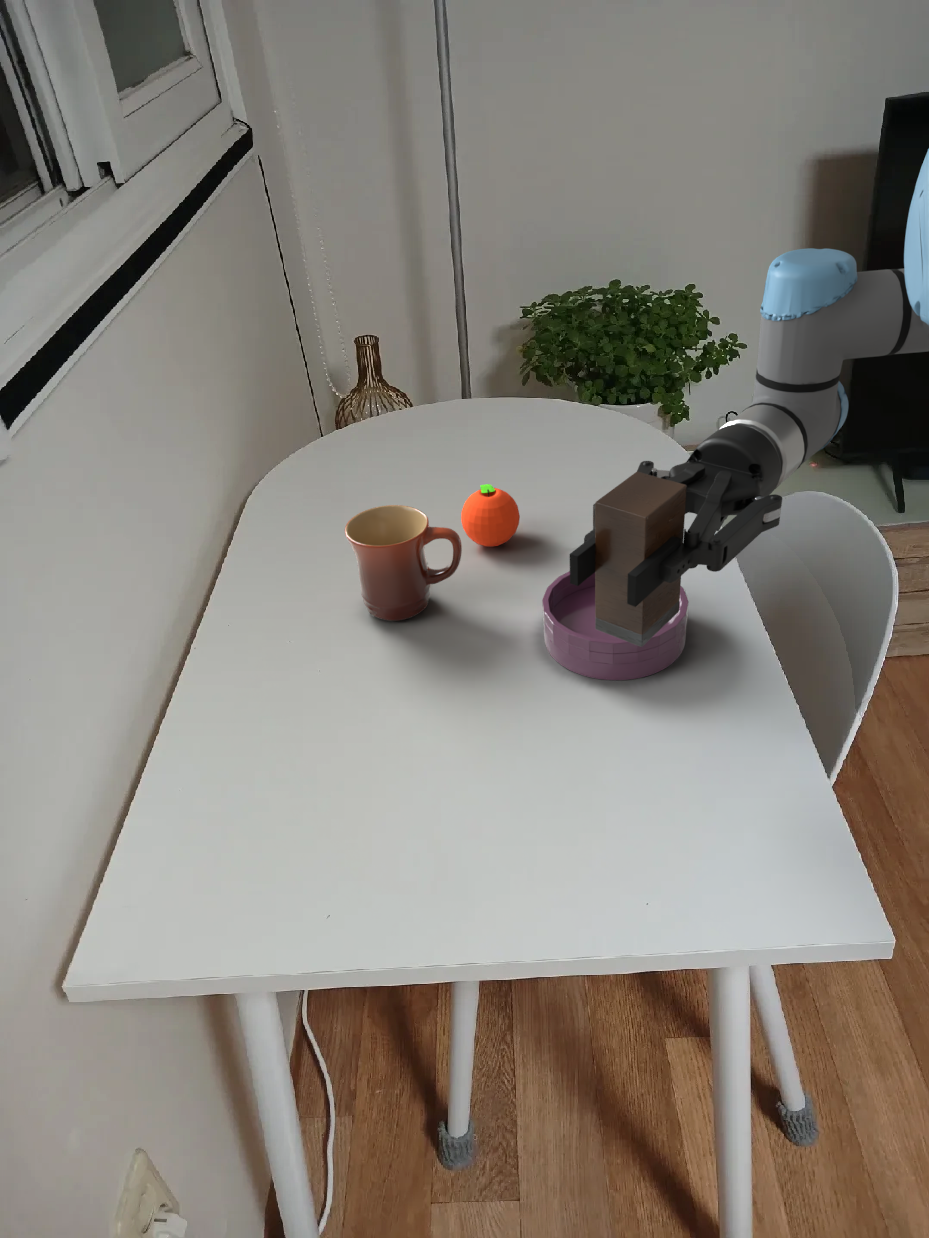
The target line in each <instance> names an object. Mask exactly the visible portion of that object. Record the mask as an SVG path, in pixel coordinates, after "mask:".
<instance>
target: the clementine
mask: <svg viewBox="0 0 929 1238" xmlns="http://www.w3.org/2000/svg"><path fill="white" fill-rule="evenodd" d="M479 487H480V489H478V490H476V491H474V492H473V493H472V494H470V495H469V496H468V498H467V499H466V500H465V501H464V504H463V506H462V509H461V512H460V513H461V515H460V518H461V519H460V520H461V521H460V522H461V525H462V529H463V531H464V533H465V534H466V535H467V537H468V538H469V539H470V540H471V541H472V542H474V543H476V544H478V545H481V546H483V547H492V548H493V547H499V546H500V545H504V543H505V544H506V543H507V542H508V541H509V540H510V539H512V537H513V536H514V535H515V534H516V532H517V530H518V528H519V525H520V518H521V516H520V515H521V514H520V509H519V505H518V504H517V502H516V500H515V499H514V498H513V496H511V494H509V493H508V492H507V491H505V490H503V489H501V488H497V487H494V486H493V485H492V484H490V483H486V484H480V485H479Z"/></svg>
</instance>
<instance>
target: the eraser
mask: <svg viewBox="0 0 929 1238" xmlns="http://www.w3.org/2000/svg"><path fill="white" fill-rule="evenodd" d="M686 487H687V486H686V485H685V484H681V483H677V482H673V481H670V480H666V479H662V478H659V477H655V476H651V475H648V474H644V473H640V472H637V471H636V472H634V473H633V474H631V475H630V476H628V478H626V479H625V480H623V481H622V482H621V483H619V484H618V485H616V486H615V487H614V488H613V489H611V490H610V491H608V492H607V493H606V494H604V495H603V496H602V497H600V498H599V499H597V500H596V501H595V502H594V504H595V617H596V618H595V629H596V630H599V631H602V632H604V633H607V634H609V635H612V636H614V637H617V638H620V639H622V640H625V641H627V642H630V643H632V644H635V645H638V646H640V647H642V646H643V645H644V644H645V643H646V642H648V641H649V640H650V639H651V638H652V637H653V636H654V635H655V634H656V633H657V632H658V631H659V630H660V629H661V628H662V627H663V626H664V625H665V624H666V623H668V622H669V621H670V620H671V619H672V618H673V617H674V616H675V615H676V614H677V613H678V612H679V602H680V601H679V600H680V586H682V584H681V583H682V576H680V577H679V578H678V579H677V580H676V581H674V582H672V583H668V582H665V581H664V582H663V583H662V584H661V585H660V586H658V587H657V588H656V589H655V590H654V591H653V592H652V593H651V594H649V595H648V596H647V597H646V598H645V599H644V600H643V601H642V602H641V603H639V604H638V605H637V606H636V607H634V606H632V605H629V604H627V584H628V573H629V572H631V571H632V570H633V569H634V568H635V567H636V566H638V565H639V564H640V563H641V562H642V561H643V560H645V559H646V558H647V557H649V556H650V555H651V554H652V553H653V552H654V551H656V550H657V549H658V548H659V547H660V546H662V545H663V544H664V543H665V542H666V541H667V540H669V539H670V538H671V537H672V536H674V537H678V538H681V544H683V542H684V529H685V518H686V517H685V516H686V514H685V504H686Z"/></svg>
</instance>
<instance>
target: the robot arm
mask: <svg viewBox="0 0 929 1238" xmlns="http://www.w3.org/2000/svg"><path fill="white" fill-rule="evenodd" d="M906 221H907V222H906V228H905V237H904V248H903V267H904V268H891V269H887V268H885V269H878V270H877V269H875V270H865V271H858V270H857V269H858V268H857V261H856V259H855V257H854V256H853V255H852V254H850V253H848V252H846V251H844V250H840V249H834V248H813V247H812V248H810V247H809V248H799V249H793V250H790V251H786V252H784V253H782V254H780V255H779V256H777V257H775V258H774V259H773V260H772V262H771V263H770V264H769V267H768V270H767V274H766V279H765V283H764V290H763V296H762V303H761V306H760V309H759V310H760V323H759V325H760V326H759V335H758V350H757V363H756V371H755V377H754V384H753V385H754V386H753V397H752V401H751V404H750V405H749V406H747V407H746V408H745V409H744V410H742V411H741V412H740V413H738V414H737V415H736V416H735V417H733V418H732V419H730V420H729V421H728V422H726V423H724V425H722V426H721V427H719V428H718V429H717V430H716V431H715V432H713V433H712V434H711V435H710V436H708V437H707V438H705V439H704V440H703V441H701V442H700V443H699V444H698V445H697V446H696V447H695V448H694V450H693V451H692V453H691V454H690V455H689V457H688V459H686V461H685V462H682V463H680V464H675V465H674V466H672V467H671V468H670V469H669V470H664V469H657V468H655V462H653V461H651V460H643V461H641V462H640V463H639V465H638V468H637V470H636V472H640V473H644V474H648V475H651V476H655V477H659V478H662V479H666V480H670V481H673V482H677V483H681V484H685V485H686V486H687V487H686V504H685V515H686V514H688V513H690V514H695V515H696V516H695V517H694V519H693V521H692V523H691V524H690V526H689V528H688V529H687V528H684V536H683V544H681V538H678V537H674V536H672V537H671V538H670V539H669V540H667V541H666V542H665V543H664V544H663V545H662V546H660V547H659V548H658V549H657V550H656V551H654V552H653V553H652V554H651V555H650V556H649V557H647V558H646V559H645V560H643V561H642V562H641V563H640V564H639V565H638V566H636V567H635V568H634V569H633V570H632V571H631V572H629V573H628V584H627V604H629V605H632V606H634V607H636V606H637V605H638V604H639V603H641V602H642V601H643V600H644V599H645V598H646V597H647V596H648V595H649V594H651V593H652V592H653V591H654V590H655V589H656V588H657V587H658V586H660V585H661V584H662V583H663V582H664V581H665V582H668V583H672V582H674V581H676V580H677V579H678V578H679V577H680V576H681V577H682V576H683V575H684V574H685V573H687V571H688V570H689V569H695V568H697V566H698V565H699V566H706V569H707V570H708V571H710V572H713V573H714V572H716V573H717V572H720V571H722V570H723V569H724V568H725V567H726V566H727V565H728V564H729V563H730V562H731V561H733V559H735V558H736V557H737V556H738V555H739V554H740V553H741V552H742V551H743V550H744V549H746V548H747V547H748V546H749V545H750V544H751V543H752V542H753V541H755V539H756V538H757V537H759V535H761V534H762V533H763V532H766V531H768V530H771V529H773V528H776V527H778V526H779V525H780V521H781V514H782V513H781V512H782V506H783V497H782V495H779V494H776V493H775V494H774V492H775V490H777V489H778V488H779V487H780V486H781V485H782V484H783V483H784V482H785V481H786V480H788V479H789V477H791V476H792V475H793V474H794V473H795V472H796V471H797V470H799V468H801V466H802V465H803V464H804V463H805V462H807V460H809V459H810V458H812V456H814V455H815V454H816V453H818V452H820V451H821V450H824V448H825V447H827V446H828V444H829V443H830V442H831V441H832V440H833V438H834V437H835V436H836V435H837V434H838V432H839V430H840V429H841V428H842V426H843V425H844V424H845V422H846V420H847V418H848V417H847V416H848V413H849V399H848V396H847V393H846V390H845V387H844V386H843V384H842V383H841V381H840V377H841V371H842V367H843V361H845V360H852V359H863V358H874V357H884V356H893V355H900V354H901V355H902V354H913V353H925V352H929V148H928V149H927V152H926V154H925V157H924V160H923V163H922V164H921V167H920V170H919V173H918V177H917V179H916V183H915V186H914V191H913V195H912V198H911V202H910V205H909V210H908V215H907V220H906ZM772 493H773V494H772ZM729 516H734V517H733V518H732V519H731V520H730V521H729V522H727V523H726V524H725V525H724V526H723V524H724V522H725V520H727V519H728V517H729ZM569 571H570V583H571V584H574V585H576V586H579V585H580V584H581V583H582V582H584V581H585V580H586V579H587V578H589V577H590V576H591V575H592V574H593V573H595V503H593V505H592V530H590V531H589V532H588V533H586V534H585V535H584V537H583V543H582V544H580V545H579V546H578V547H577V548H575V549H574V550H573V551H572V552H570V553H569Z"/></svg>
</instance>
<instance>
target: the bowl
mask: <svg viewBox="0 0 929 1238" xmlns="http://www.w3.org/2000/svg"><path fill="white" fill-rule="evenodd" d="M679 601H680V602H679V612H678V613H677V614H676V615H675V616H674V617H673V618H672V619H671V620H670V621H669V622H668V623H666V624H665V625H664V626H663V627H662V628H661V629H660V630H659V631H658V632H657V633H656V634H655V635H654V636H653V637H652V638H651V639H650V640H649V641H648V642H646V643H645V644H644V645H643V646H642V647H640V646H638V645H635V644H632V643H630V642H627V641H625V640H622V639H620V638H617V637H614V636H612V635H609V634H607V633H604V632H602V631H599V630H596V629H595V618H596V617H595V573H593V574H592V575H591V576H590V577H589V578H587V579H586V580H585V581H584V582H582V583H581V584H580V585H579V586H576V585H574V584H571V583H570V570H569V571H567V572H565V573H563V574H562V575H559V576H558V577H556V578H555V579H554V580H553V581H552V582H551V583H550V584H549V585H548V586H547V587H546V589H545V592H544V595H543V597H542V600H541V603H542V621H543V639H544V640H543V641H544V645H545V648H546V650H547V652H548V654H549V655H550V656H551V657H552V658H553V660H554V661H555V662H557V663H558V664H559V665H560V666H562V667H563V668H565V669H566V670H568V671H571V672H573V673H574V674H577V675H581V676H584V677H587V678H590V679H591V678H592V679H596V680H603V681H627V680H629V681H630V680H636V679H641V678H645V677H647V676H652V675H654V674H656V673H659V672H661V671H663V670H665V669H667V668H668V667H669V666H671V665H672V664H673V663H674V662H676V661H677V660H678V659H679V658H680V656H681V654H682V653H683V651H684V650H685V649H684V648H685V645H686V637H687V625H688V615H689V604H690V603H689V599H688V596H687V594H686V590H685V589H684V587H683V586H682V585H681V586H680V600H679Z"/></svg>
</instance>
